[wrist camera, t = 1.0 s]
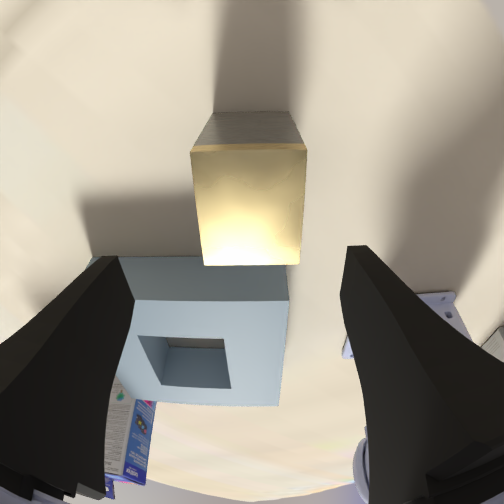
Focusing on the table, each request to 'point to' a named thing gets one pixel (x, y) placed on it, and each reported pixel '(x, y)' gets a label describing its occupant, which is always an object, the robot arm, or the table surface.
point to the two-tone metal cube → (250, 188)
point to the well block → (204, 331)
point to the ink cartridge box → (127, 438)
